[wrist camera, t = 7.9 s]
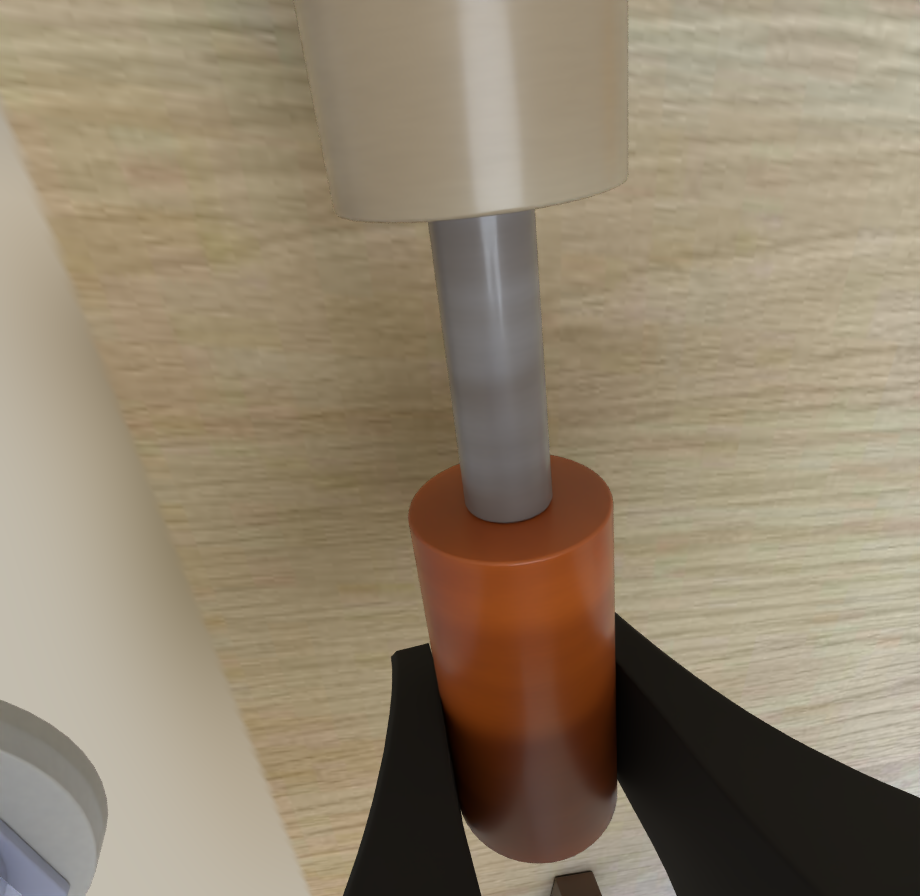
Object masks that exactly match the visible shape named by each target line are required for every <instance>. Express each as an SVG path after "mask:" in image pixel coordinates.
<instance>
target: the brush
mask: <svg viewBox="0 0 920 896" xmlns="http://www.w3.org/2000/svg"><path fill="white" fill-rule="evenodd" d="M293 1H294V7H295V12H296V17H297V22H298V28H299V33H300V38H301V43H302V48H303V54H304V59H305V64H306V69H307V74H308V80H309V85H310V90H311V95H312V100H313V106H314V111H315V116H316V121H317V127H318V132H319V137H320V142H321V147H322V153H323V158H324V163H325V168H326V173H327V179H328V184H329V189H330V194H331V199H332V205H333V210H334V212H335V214H336V215H337V216H338V217H341V218H343V219H348V220H352V221H359V222H370V223H415V222H428V227H429V234H430V242H431V249H432V257H433V264H434V272H435V280H436V287H437V295H438V302H439V310H440V317H441V325H442V333H443V340H444V348H445V355H446V363H447V371H448V378H449V386H450V393H451V401H452V408H453V416H454V424H455V431H456V439H457V446H458V454H459V461H460V464H457V465H455V466H452V467H450V468H448V469H446V470H444V471H442V472H441V473H439V474H437V475H436V476H434V477H433V478H431V479H430V480H429V481H427V482H426V483H425V484H424V485H423V486H422V487H421V488H420V489H419V491H418V492H417V493H416V494H415V496H414V498H413V500H412V502H411V505H410V508H409V513H408V521H409V527H410V532H411V538H412V543H413V549H414V555H415V560H416V566H417V571H418V577H419V582H420V588H421V594H422V599H423V605H424V610H425V616H426V621H427V627H428V632H429V638H430V644H431V649H432V655H433V660H434V666H435V671H436V677H437V683H438V688H439V694H440V697H441V703H442V708H443V714H444V719H445V725H446V731H447V736H448V742H449V747H450V753H451V759H452V764H453V770H454V775H455V781H456V786H457V792H458V798H459V803H460V808H461V811H462V815H463V817H464V819H465V821H466V823H467V825H468V826H469V827H470V829H471V830H472V832H473V833H474V834H475V835H476V836H477V837H478V839H479V840H480V841H482V842H483V843H484V844H485V845H486V846H488V847H489V848H490V849H492V850H494V851H495V852H497V853H499V854H501V855H503V856H505V857H507V858H510V859H513V860H517V861H521V862H527V863H552V862H557V861H561V860H565V859H567V858H570V857H573V856H575V855H577V854H579V853H580V852H582V851H584V850H585V849H587V848H588V847H589V846H591V845H592V844H593V843H594V842H595V841H596V840H597V839H598V838H599V837H600V836H601V835H602V833H603V832H604V831H605V829H606V828H607V826H608V825H609V823H610V821H611V819H612V816H613V813H614V811H615V807H616V801H617V737H616V664H615V591H614V518H613V498H612V494H611V492H610V489H609V487H608V486H607V484H606V483H605V481H604V480H603V479H602V478H601V477H600V476H599V475H598V474H597V473H595V472H594V471H592V470H591V469H589V468H588V467H586V466H584V465H582V464H580V463H577V462H575V461H572V460H569V459H566V458H563V457H558V456H554V455H550V446H549V430H548V413H547V397H546V381H545V365H544V349H543V332H542V316H541V300H540V284H539V268H538V251H537V235H536V219H535V209H539V208H544V207H549V206H554V205H559V204H564V203H568V202H572V201H577V200H581V199H584V198H588V197H592V196H595V195H598V194H601V193H604V192H607V191H609V190H612V189H614V188H616V187H618V186H620V185H621V184H623V183H624V182H625V181H626V180H627V177H628V0H293Z"/></svg>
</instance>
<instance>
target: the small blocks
mask: <svg viewBox="0 0 920 896" xmlns="http://www.w3.org/2000/svg"><path fill="white" fill-rule="evenodd" d="M551 896H602V895H601V892H600V890H599V887H598V885H597V882H596V880H595V877H594V875H593V872H586V873H580V874H574V875H568V876H562V877H556V878H555V882H554V886H553V890H552V893H551Z"/></svg>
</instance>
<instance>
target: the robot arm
mask: <svg viewBox="0 0 920 896" xmlns="http://www.w3.org/2000/svg"><path fill="white" fill-rule="evenodd" d="M391 661H392V695H391V705H390V715H389V721H388V728H387V734H386V741H385V747H384V753H383V758H382V762H381V767H380V771H379V776H378V780H377V785H376V789H375V793H374V798H373V802H372V806H371V809H370V813H369V817H368V820H367V824H366V827H365V831H364V834H363V837H362V841H361V844H360V847H359V850H358V854H357V857H356V860H355V863H354V866H353V868H352V871H351V874H350V877H349V880H348V883H347V886H346V888H345V891H344V894H343V896H481V893H480V889H479V885H478V881H477V877H476V873H475V870H474V866H473V862H472V858H471V854H470V850H469V846H468V843H467V839H466V835H465V831H464V827H463V822H462V815H461V808H460V803H459V798H458V792H457V786H456V781H455V775H454V770H453V764H452V759H451V753H450V747H449V742H448V736H447V731H446V725H445V719H444V714H443V708H442V703H441V697H440V694H439V688H438V683H437V677H436V671H435V666H434V660H433V656H432V653H431V649H430V646H429V643H427V644H423V645H419V646H415V647H411V648H407V649H403V650H399V651H396V652H395V653H394V655H393V656H392V657H391ZM615 664H616V737H617V780H618V781H619V783H620V785H621V787H622V789H623V791H624V792H625V794H626V796H627V798H628V800H629V802H630V803H631V805H632V807H633V809H634V811H635V813H636V814H637V816H638V818H639V820H640V822H641V824H642V825H643V827H644V829H645V831H646V833H647V835H648V836H649V838H650V840H651V842H652V844H653V846H654V848H655V850H656V852H657V854H658V856H659V858H660V860H661V862H662V864H663V866H664V868H665V870H666V872H667V874H668V876H669V879H670V881H671V883H672V886H673V888H674V890H675V893H676V895H677V896H920V798H919V797H917V796H914V795H912V794H910V793H907V792H905V791H902V790H900V789H898V788H895V787H893V786H891V785H888V784H886V783H883V782H881V781H879V780H877V779H874V778H872V777H870V776H868V775H866V774H863V773H861V772H859V771H857V770H855V769H853V768H851V767H849V766H847V765H845V764H843V763H841V762H839V761H836V760H834V759H832V758H830V757H828V756H826V755H824V754H822V753H820V752H818V751H816V750H814V749H812V748H810V747H808V746H806V745H804V744H803V743H801V742H799V741H797V740H795V739H793V738H791V737H790V736H788V735H786V734H784V733H783V732H781V731H779V730H777V729H776V728H774V727H772V726H771V725H769V724H767V723H765V722H764V721H762V720H760V719H759V718H757V717H755V716H754V715H752V714H751V713H749V712H747V711H746V710H744V709H743V708H741V707H740V706H738V705H737V704H735V703H733V702H732V701H731V700H729V699H728V698H726V697H725V696H723V695H722V694H720V693H719V692H717V691H716V690H714V689H713V688H711V687H710V686H708V685H707V684H706V683H704V682H703V681H701V680H700V679H699V678H697V677H696V676H694V675H693V674H692V673H690V672H689V671H688V670H687V669H685V668H684V667H683V666H681V665H680V664H679V663H677V662H676V661H675V660H673V659H672V658H671V657H669V656H668V655H667V654H665V653H664V652H663V651H662V650H660V649H659V648H658V647H656V646H655V645H654V644H653V643H651V642H650V641H649V640H648V639H647V638H645V637H644V636H643V635H642V634H640V633H639V632H638V631H637V630H636V629H634V628H633V627H632V626H631V625H630V624H628V623H627V622H626V621H625V620H624V619H622V618H621V617H620V616H619V615H618V614H617V613H615ZM69 888H70V885H69V884H68V882H67V881H66V880H65V879H64V878H63V877H62V876H61V875H60V874H58V873H57V872H56V871H55V870H54V869H53V868H52V867H51V866H50V865H49V864H48V863H47V862H46V861H45V860H44V859H43V858H41V857H40V856H39V855H38V854H37V853H36V852H35V851H34V850H33V849H32V848H31V847H30V846H29V845H28V844H27V843H26V842H24V841H23V840H22V839H21V838H20V837H19V836H18V835H17V834H16V833H15V832H14V831H13V830H12V829H11V828H10V827H8V826H7V825H6V824H5V823H4V822H3V821H2V820H1V819H0V896H68V892H69Z"/></svg>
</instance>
